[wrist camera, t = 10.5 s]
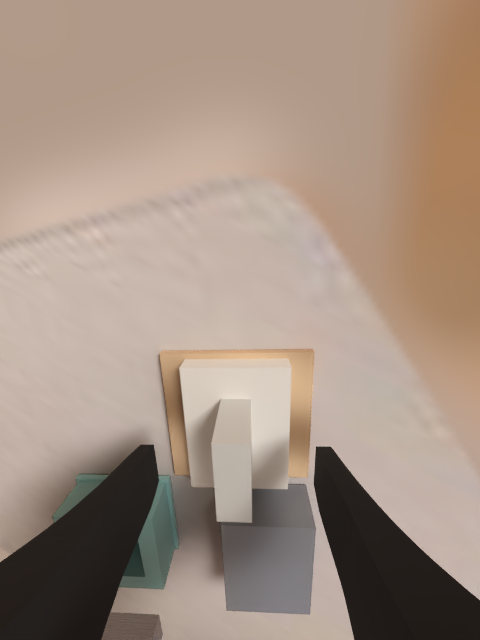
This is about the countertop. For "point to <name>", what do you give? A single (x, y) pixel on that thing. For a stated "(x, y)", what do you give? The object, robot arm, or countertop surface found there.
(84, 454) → the countertop surface
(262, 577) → the box
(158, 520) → the key socket
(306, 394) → the cork mat
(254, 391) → the cover
